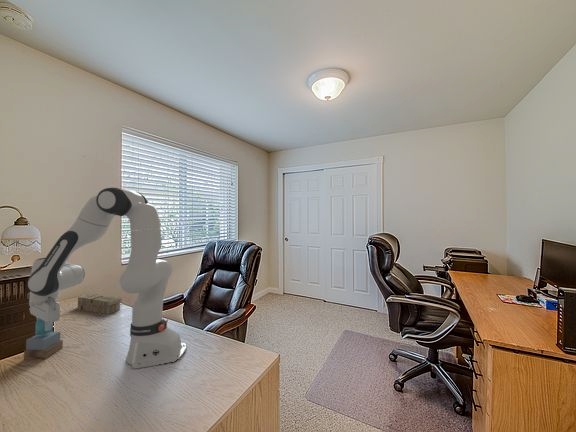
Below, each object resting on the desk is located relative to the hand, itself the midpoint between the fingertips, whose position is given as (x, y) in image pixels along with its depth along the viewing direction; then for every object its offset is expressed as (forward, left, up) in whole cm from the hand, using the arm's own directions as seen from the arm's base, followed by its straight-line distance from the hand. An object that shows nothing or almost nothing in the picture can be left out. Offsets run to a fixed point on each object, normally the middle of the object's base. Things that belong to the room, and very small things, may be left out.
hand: (44, 328), depth 99 cm
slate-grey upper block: (0, 0, -7) cm, 7 cm away
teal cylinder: (0, 0, -2) cm, 2 cm away
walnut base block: (0, 0, -11) cm, 11 cm away
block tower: (+11, -51, -11) cm, 53 cm away
